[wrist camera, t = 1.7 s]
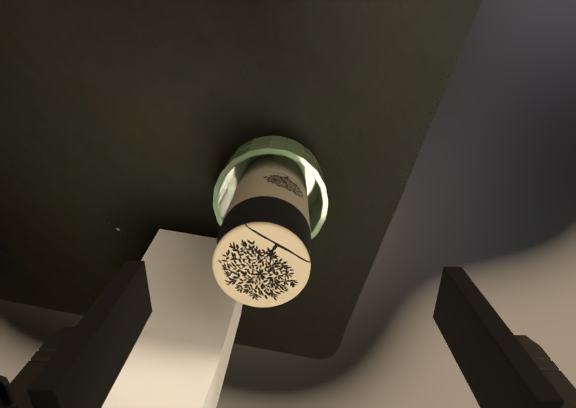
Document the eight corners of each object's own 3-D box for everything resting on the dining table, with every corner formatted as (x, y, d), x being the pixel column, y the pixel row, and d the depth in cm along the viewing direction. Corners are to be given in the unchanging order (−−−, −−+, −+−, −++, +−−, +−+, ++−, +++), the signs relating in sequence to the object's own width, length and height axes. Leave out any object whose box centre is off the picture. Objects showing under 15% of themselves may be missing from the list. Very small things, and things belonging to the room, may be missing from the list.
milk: (252, 244, 48) (211, 440, 24) (240, 314, 52) (196, 539, 28) (159, 228, 47) (21, 414, 23) (155, 301, 52) (36, 520, 28)
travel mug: (276, 228, 47) (267, 327, 30) (226, 188, 45) (187, 271, 28) (319, 183, 44) (335, 264, 28) (269, 140, 42) (253, 199, 26)
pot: (220, 224, 47) (210, 247, 41) (226, 129, 42) (216, 141, 37) (315, 235, 47) (318, 260, 42) (331, 142, 42) (337, 156, 37)
